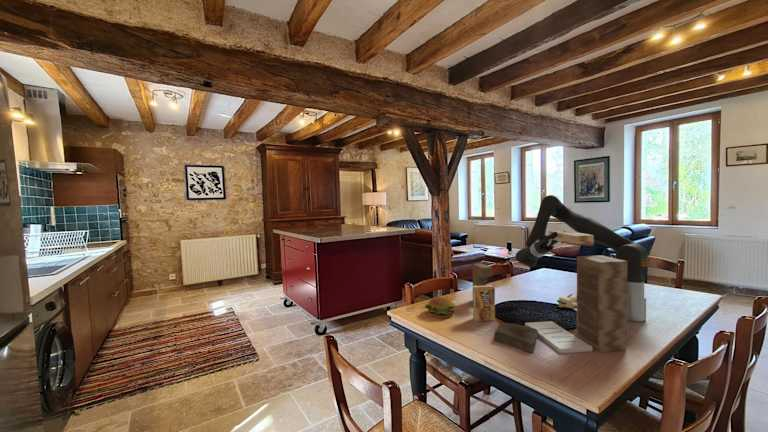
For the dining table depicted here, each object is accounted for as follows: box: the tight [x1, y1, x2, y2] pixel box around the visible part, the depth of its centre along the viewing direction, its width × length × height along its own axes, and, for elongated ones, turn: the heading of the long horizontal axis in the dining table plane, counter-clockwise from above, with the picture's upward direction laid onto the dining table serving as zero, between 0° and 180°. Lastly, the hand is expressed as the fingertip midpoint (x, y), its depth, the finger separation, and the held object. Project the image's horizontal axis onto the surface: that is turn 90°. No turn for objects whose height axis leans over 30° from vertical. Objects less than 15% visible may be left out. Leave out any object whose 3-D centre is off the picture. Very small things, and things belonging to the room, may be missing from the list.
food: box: [424, 296, 456, 319], centre depth 153 cm, size 14×14×8 cm
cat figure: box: [556, 293, 577, 309], centre depth 160 cm, size 10×9×25 cm
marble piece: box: [493, 322, 538, 354], centre depth 123 cm, size 17×15×4 cm
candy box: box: [472, 284, 496, 322], centre depth 144 cm, size 9×4×15 cm, turn 92°
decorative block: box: [472, 263, 493, 287], centre depth 167 cm, size 11×6×20 cm, turn 12°
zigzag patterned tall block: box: [576, 254, 628, 353], centre depth 117 cm, size 10×12×32 cm
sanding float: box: [548, 230, 595, 247], centre depth 135 cm, size 7×21×4 cm, turn 4°
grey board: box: [524, 320, 593, 354], centre depth 124 cm, size 12×24×2 cm, turn 4°
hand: (560, 233), depth 139 cm, fingers closed on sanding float, 3 cm apart
